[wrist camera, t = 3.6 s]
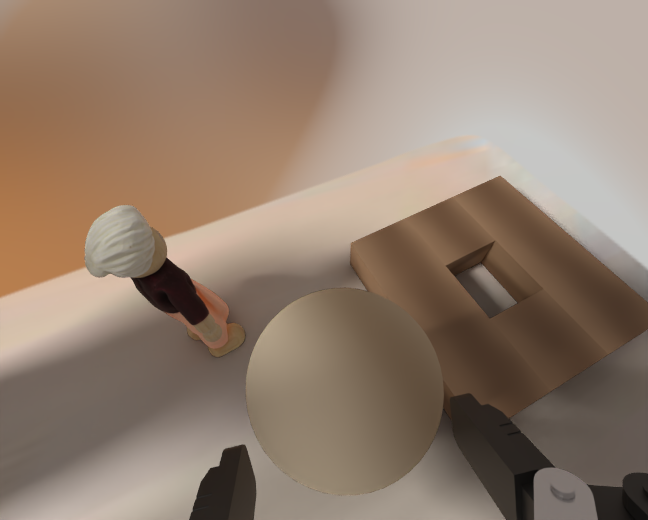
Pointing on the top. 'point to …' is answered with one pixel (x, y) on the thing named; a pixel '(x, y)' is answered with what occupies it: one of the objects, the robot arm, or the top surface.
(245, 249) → the top surface
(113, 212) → the grandmother figurine
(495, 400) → the walnut board
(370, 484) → the beech peg
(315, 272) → the top surface
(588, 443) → the top surface
